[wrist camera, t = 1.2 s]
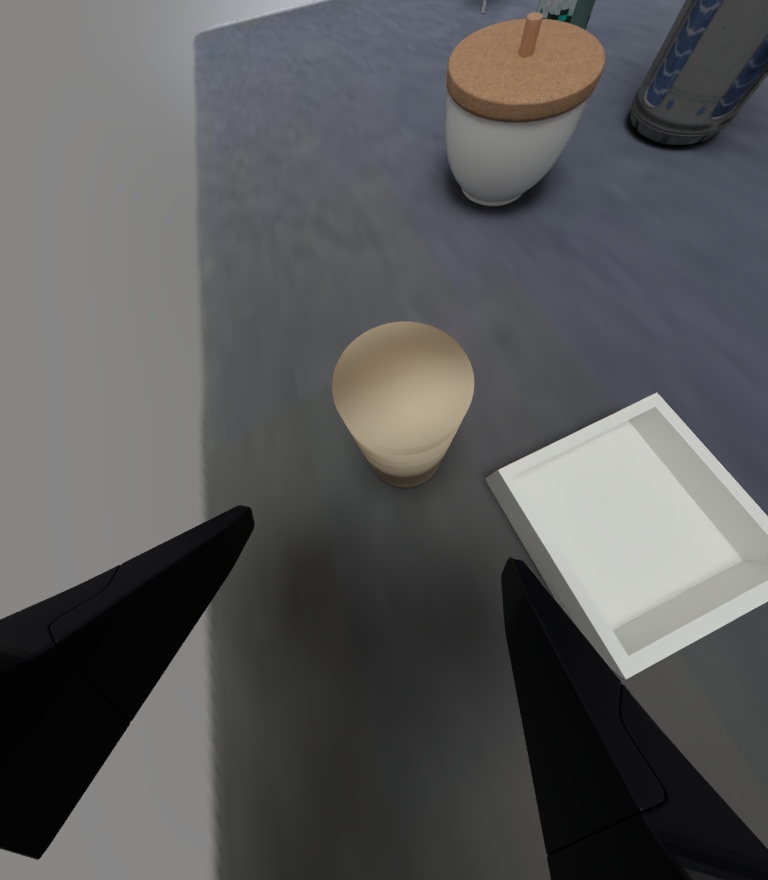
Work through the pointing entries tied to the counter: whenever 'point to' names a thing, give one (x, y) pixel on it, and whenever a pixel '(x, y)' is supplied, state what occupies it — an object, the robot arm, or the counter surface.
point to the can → (567, 11)
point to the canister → (403, 398)
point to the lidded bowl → (516, 103)
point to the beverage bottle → (703, 71)
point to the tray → (638, 533)
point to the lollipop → (484, 6)
